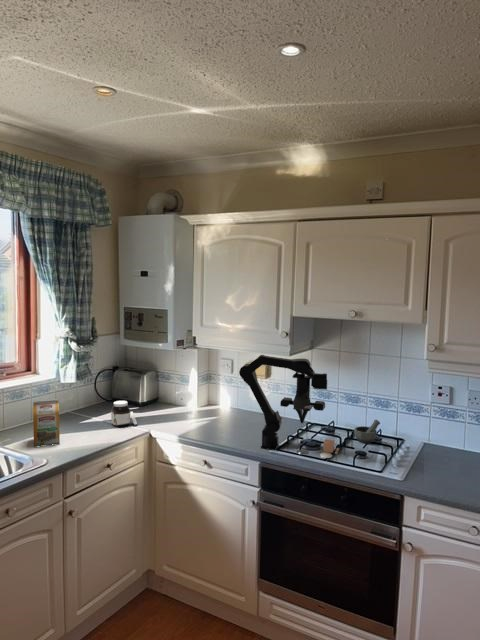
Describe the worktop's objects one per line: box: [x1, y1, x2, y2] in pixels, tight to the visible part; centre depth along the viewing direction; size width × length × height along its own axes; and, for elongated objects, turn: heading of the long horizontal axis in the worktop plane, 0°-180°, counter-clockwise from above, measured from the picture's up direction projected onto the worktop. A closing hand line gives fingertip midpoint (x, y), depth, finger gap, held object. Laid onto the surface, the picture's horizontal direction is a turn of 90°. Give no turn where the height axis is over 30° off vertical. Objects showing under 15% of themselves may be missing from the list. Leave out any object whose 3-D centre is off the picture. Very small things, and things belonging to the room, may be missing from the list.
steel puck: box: [296, 449, 310, 456], centre depth 207 cm, size 5×5×2 cm
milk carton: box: [32, 399, 61, 447], centre depth 219 cm, size 11×11×19 cm
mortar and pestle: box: [353, 419, 381, 445], centre depth 221 cm, size 11×9×12 cm
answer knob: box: [323, 438, 335, 453], centre depth 210 cm, size 4×4×4 cm
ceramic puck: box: [319, 452, 333, 459], centre depth 204 cm, size 5×5×2 cm
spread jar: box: [110, 400, 138, 428], centre depth 246 cm, size 12×11×12 cm
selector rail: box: [294, 442, 340, 455], centre depth 212 cm, size 18×6×2 cm, turn 70°
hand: (302, 423), depth 213 cm, fingers closed
